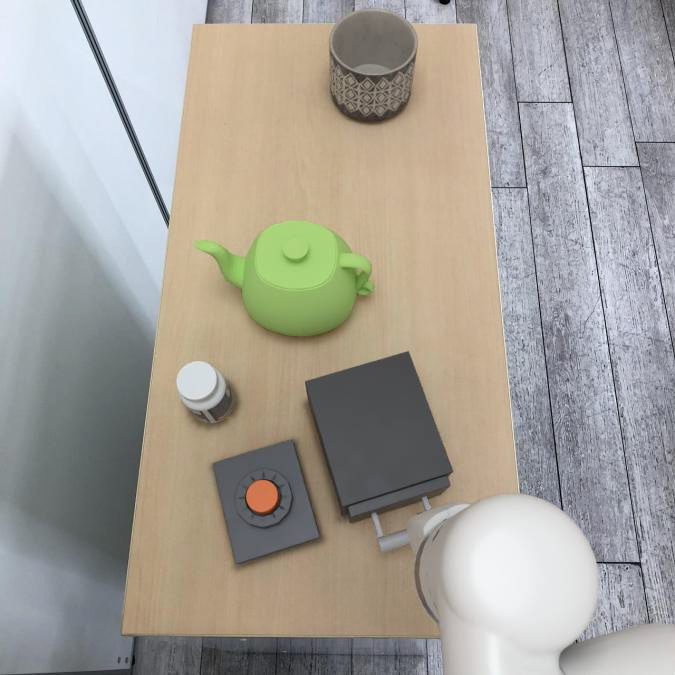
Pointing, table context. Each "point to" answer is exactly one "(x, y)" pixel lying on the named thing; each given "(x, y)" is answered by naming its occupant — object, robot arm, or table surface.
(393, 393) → the drawer cabinet casing
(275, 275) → the teapot
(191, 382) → the pill bottle
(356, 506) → the drawer with pull handle
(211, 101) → the table surface
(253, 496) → the button
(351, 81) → the planter
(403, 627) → the table surface
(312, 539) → the control pad
